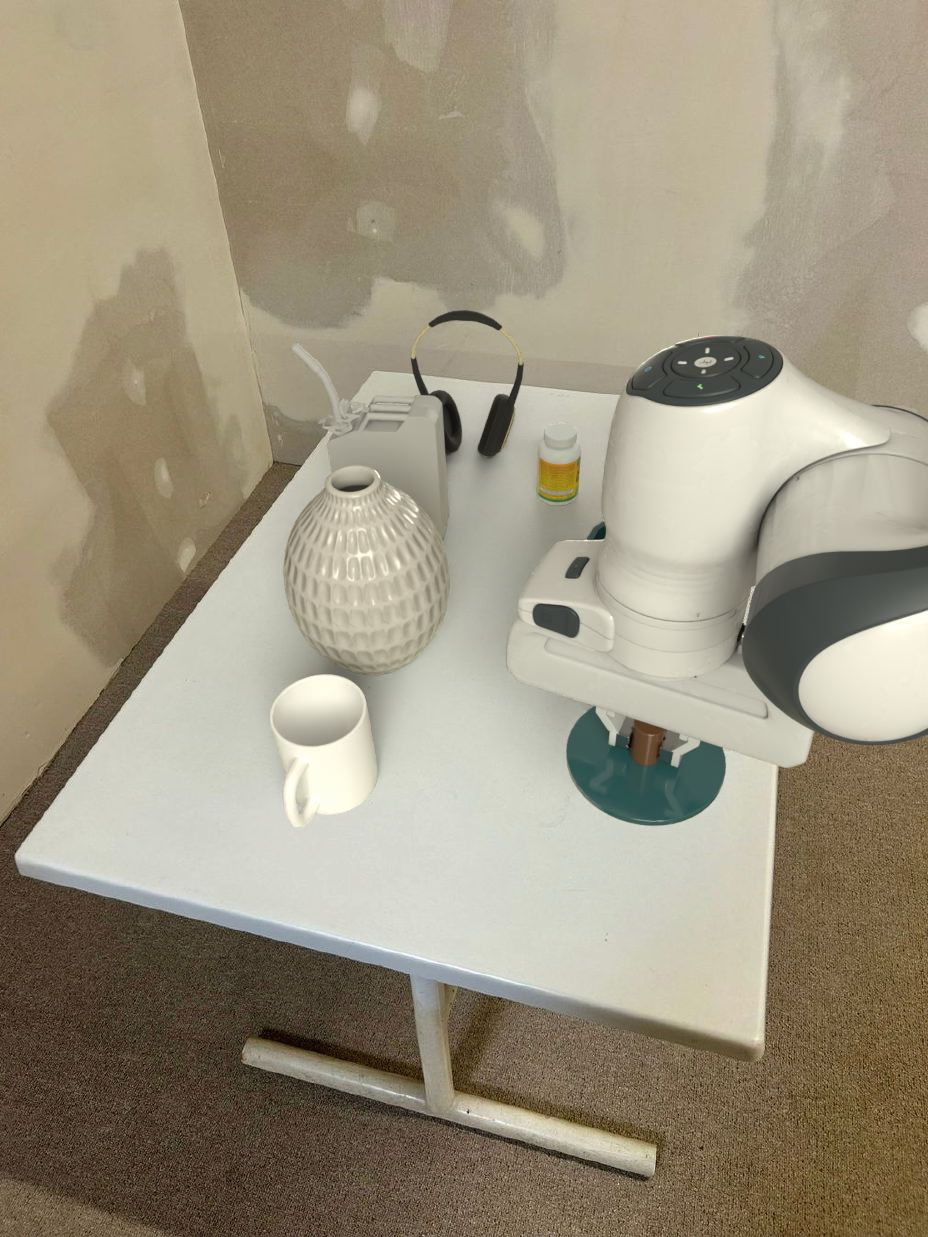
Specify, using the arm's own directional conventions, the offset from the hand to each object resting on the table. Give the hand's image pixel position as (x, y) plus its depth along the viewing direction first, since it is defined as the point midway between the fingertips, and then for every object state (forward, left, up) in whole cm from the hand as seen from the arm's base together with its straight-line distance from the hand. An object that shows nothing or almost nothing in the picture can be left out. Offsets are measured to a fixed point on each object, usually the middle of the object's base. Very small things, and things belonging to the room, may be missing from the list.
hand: (645, 749), depth 61 cm
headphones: (+40, -53, -17) cm, 69 cm away
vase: (+32, -14, -17) cm, 39 cm away
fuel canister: (+42, -33, -17) cm, 56 cm away
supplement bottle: (+25, -48, -17) cm, 57 cm away
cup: (+27, +4, -17) cm, 32 cm away
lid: (0, 0, -1) cm, 1 cm away
